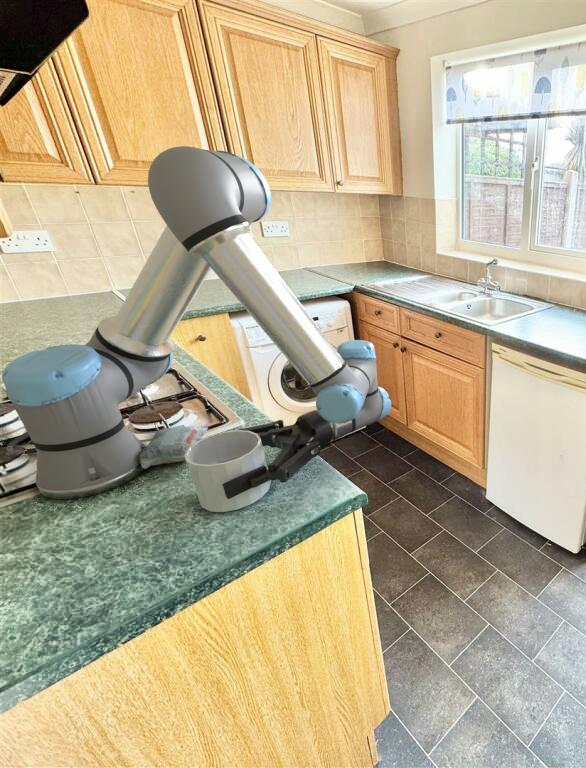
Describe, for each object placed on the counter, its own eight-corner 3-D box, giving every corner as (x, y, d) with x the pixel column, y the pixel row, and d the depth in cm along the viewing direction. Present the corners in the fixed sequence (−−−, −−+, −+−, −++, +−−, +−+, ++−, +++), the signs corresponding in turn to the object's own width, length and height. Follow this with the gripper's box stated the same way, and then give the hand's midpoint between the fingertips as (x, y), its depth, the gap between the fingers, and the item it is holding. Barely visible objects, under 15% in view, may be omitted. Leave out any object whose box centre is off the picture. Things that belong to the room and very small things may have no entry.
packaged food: (210, 436, 91) (204, 417, 89) (197, 468, 81) (190, 446, 79) (161, 443, 88) (154, 422, 86) (141, 476, 78) (132, 454, 76)
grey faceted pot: (185, 512, 71) (168, 463, 66) (226, 473, 80) (214, 428, 76) (248, 516, 71) (235, 467, 66) (282, 476, 80) (272, 432, 76)
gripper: (362, 462, 82) (248, 525, 66) (293, 422, 94) (182, 466, 78) (359, 430, 79) (238, 487, 63) (288, 392, 91) (170, 432, 75)
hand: (206, 476), depth 70 cm, fingers open, 12 cm apart
